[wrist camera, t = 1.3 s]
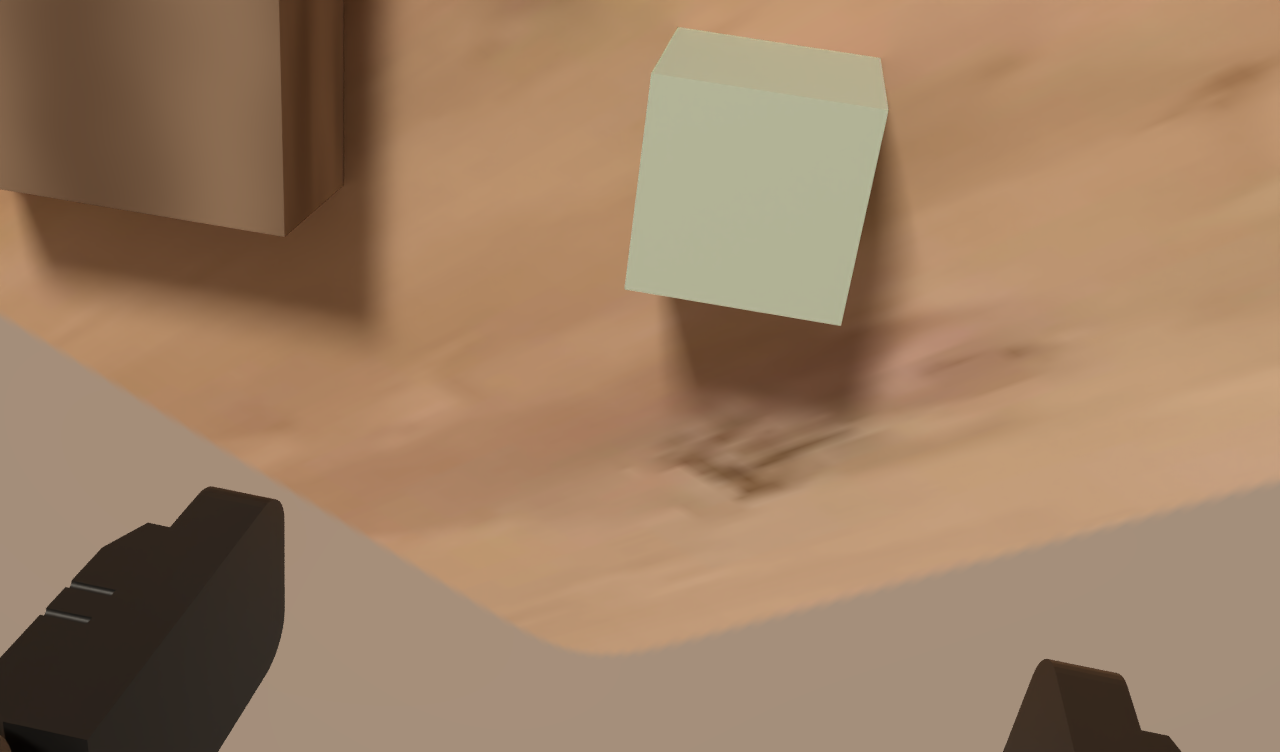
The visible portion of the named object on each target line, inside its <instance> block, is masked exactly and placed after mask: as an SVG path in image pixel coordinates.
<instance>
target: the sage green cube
mask: <svg viewBox="0 0 1280 752" xmlns="http://www.w3.org/2000/svg"><path fill="white" fill-rule="evenodd" d="M887 115H888V103H887V97H886V91H885V84H884V78H883V72H882V65H881V59H880V58H877V57H871V56H864V55H858V54H851V53H845V52H838V51H832V50H825V49H818V48H812V47H805V46H799V45H792V44H786V43H779V42H773V41H766V40H760V39H753V38H746V37H740V36H733V35H727V34H720V33H714V32H707V31H701V30H694V29H688V28H681V27H678V28H677V30H676V31H675V33H674V35H673V37H672V38H671V40H670V42H669V43H668V45H667V47H666V49H665V50H664V52H663V54H662V56H661V57H660V59H659V61H658V63H657V64H656V66H655V68H654V69H653V71H652V73H651V80H650V88H649V96H648V104H647V112H646V120H645V128H644V136H643V144H642V153H641V161H640V169H639V177H638V185H637V193H636V201H635V209H634V217H633V225H632V233H631V241H630V249H629V257H628V265H627V273H626V281H625V290H631V291H637V292H643V293H649V294H655V295H661V296H667V297H673V298H679V299H685V300H690V301H696V302H702V303H708V304H714V305H720V306H726V307H732V308H738V309H744V310H750V311H755V312H761V313H767V314H773V315H779V316H785V317H791V318H797V319H803V320H809V321H815V322H821V323H826V324H832V325H838V326H841V323H842V319H843V314H844V310H845V305H846V301H847V296H848V292H849V287H850V283H851V278H852V274H853V269H854V265H855V260H856V255H857V251H858V246H859V242H860V237H861V233H862V228H863V224H864V219H865V215H866V210H867V206H868V201H869V197H870V192H871V187H872V183H873V178H874V174H875V169H876V165H877V160H878V156H879V151H880V147H881V142H882V138H883V133H884V129H885V124H886V120H887Z"/></svg>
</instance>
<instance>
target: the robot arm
mask: <svg viewBox="0 0 1280 752" xmlns="http://www.w3.org/2000/svg"><path fill="white" fill-rule="evenodd" d="M284 594H285V587H284V511H283V507H282V504H281V503H280V501H278V500H276V499H271V498H266V497H261V496H256V495H251V494H246V493H241V492H236V491H231V490H226V489H222V488H217V487H207V488H205V489H204V490H202V491H201V492H200V493H199V495H197V497H196V498H195V499H194V500H193V502H191V504H190V505H189V506H188V507H187V508H186V509H185V511H184V512H183V513H182V514H181V515H180V516H179V517H178V519H177V520H176V521H175V522H174V523H173V525H172V526H171V527H165V526H161V525H156V524H151V523H146V524H145V525H143V526H141V527H139V528H137V529H135V530H134V531H132V532H130V533H128V534H127V535H124V536H123V537H121V538H119V539H117V540H115V541H113V542H112V543H110V544H108V545H106V546H104V547H103V548H101V549H100V551H99V552H98V553H97V554H96V555H95V556H94V557H93V558H92V559H91V560H90V561H89V562H88V563H87V565H86V566H85V567H84V568H83V569H82V570H81V571H80V572H79V573H78V574H77V575H76V576H75V578H74V579H73V580H72V583H71V586H70V588H67V587H65V588H64V590H63V591H62V592H61V593H60V594H59V595H58V596H57V597H56V598H55V599H54V600H53V601H52V602H51V603H50V604H49V606H48V607H47V608H46V613H45V615H44V616H43V615H39V616H38V617H37V619H36V620H35V621H34V622H33V623H32V624H31V625H30V626H29V627H28V628H27V629H26V630H25V631H24V633H23V634H22V635H21V636H20V637H19V638H18V639H17V640H16V641H15V643H13V645H12V646H11V647H10V648H9V649H8V650H7V651H6V652H5V653H4V654H3V655H2V656H1V658H0V752H218V751H219V749H220V748H221V746H222V744H223V743H224V741H225V740H226V738H227V736H228V735H229V733H230V732H231V730H232V728H233V727H234V725H235V723H236V722H237V720H238V719H239V717H240V715H241V714H242V712H243V711H244V709H245V707H246V705H247V704H248V703H249V701H250V699H251V698H252V696H253V694H254V693H255V691H256V690H257V688H258V686H259V685H260V683H261V682H262V680H263V678H264V677H265V675H266V673H267V672H268V670H269V668H270V666H271V663H272V662H273V659H274V657H275V654H276V651H277V648H278V645H279V642H280V638H281V634H282V629H283V623H284V611H285V609H284V608H285V606H284V605H285V598H284V596H285V595H284ZM1003 752H1181V751H1180V749H1179V748H1178V747H1177V746H1176V745H1175V743H1174V742H1173V741H1172V740H1171V738H1170V737H1169V736H1166V735H1161V734H1157V733H1152V732H1147V731H1142V730H1141V728H1140V725H1139V722H1138V719H1137V716H1136V712H1135V709H1134V706H1133V703H1132V700H1131V696H1130V693H1129V691H1128V687H1127V684H1126V682H1125V680H1124V678H1123V677H1122V676H1121V675H1120V674H1117V673H1114V672H1109V671H1103V670H1099V669H1094V668H1089V667H1084V666H1079V665H1074V664H1069V663H1064V662H1060V661H1055V660H1050V659H1044V660H1043V661H1041V662H1040V663H1039V665H1038V666H1037V668H1036V670H1035V672H1034V674H1033V676H1032V679H1031V682H1030V684H1029V687H1028V689H1027V692H1026V694H1025V697H1024V699H1023V702H1022V705H1021V708H1020V710H1019V712H1018V715H1017V717H1016V720H1015V723H1014V725H1013V728H1012V730H1011V733H1010V736H1009V738H1008V741H1007V743H1006V746H1005V748H1004V751H1003Z"/></svg>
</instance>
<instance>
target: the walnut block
mask: <svg viewBox="0 0 1280 752" xmlns="http://www.w3.org/2000/svg"><path fill="white" fill-rule="evenodd" d="M343 148H344V0H0V189H2V190H8V191H14V192H20V193H26V194H32V195H38V196H44V197H49V198H55V199H61V200H67V201H73V202H79V203H85V204H91V205H97V206H103V207H109V208H115V209H121V210H127V211H133V212H139V213H145V214H151V215H157V216H163V217H169V218H175V219H181V220H187V221H193V222H198V223H204V224H210V225H216V226H222V227H228V228H234V229H240V230H246V231H252V232H258V233H264V234H270V235H276V236H282V237H285V236H286V235H287V234H288V233H290V232H291V231H292V230H293V229H294V228H295V227H296V226H298V225H299V224H300V223H301V222H302V221H303V220H304V219H306V218H307V217H308V216H309V215H310V214H311V213H312V212H313V211H315V210H316V209H317V208H318V207H319V206H320V205H321V204H323V203H324V202H325V201H326V200H327V199H328V198H329V197H330V196H332V195H333V194H334V193H335V192H336V191H337V190H338V189H340V188H341V187H342V186H343Z"/></svg>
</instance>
